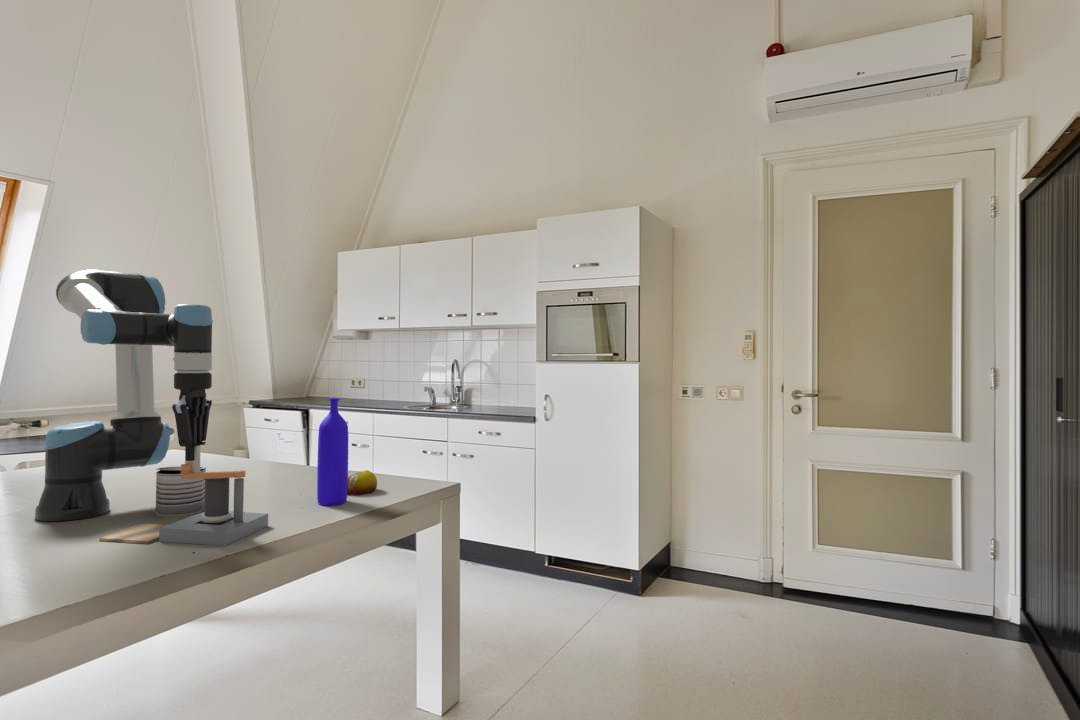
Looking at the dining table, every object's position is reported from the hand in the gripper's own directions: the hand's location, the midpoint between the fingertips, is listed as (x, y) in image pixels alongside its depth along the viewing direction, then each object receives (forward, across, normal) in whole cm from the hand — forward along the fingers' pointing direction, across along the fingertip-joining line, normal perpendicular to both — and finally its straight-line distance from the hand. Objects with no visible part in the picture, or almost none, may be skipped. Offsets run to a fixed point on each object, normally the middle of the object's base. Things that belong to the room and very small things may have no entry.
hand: (192, 474), depth 137 cm
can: (+15, -22, -14) cm, 30 cm away
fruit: (+16, -47, +26) cm, 56 cm away
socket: (+14, -2, +4) cm, 15 cm away
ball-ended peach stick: (+1, 0, +5) cm, 5 cm away
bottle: (+15, -32, +22) cm, 42 cm away
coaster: (+14, -1, -11) cm, 18 cm away
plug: (+14, -2, +4) cm, 15 cm away
